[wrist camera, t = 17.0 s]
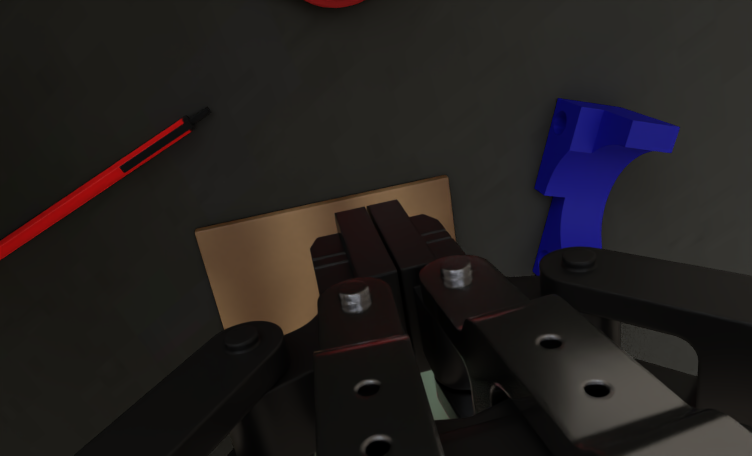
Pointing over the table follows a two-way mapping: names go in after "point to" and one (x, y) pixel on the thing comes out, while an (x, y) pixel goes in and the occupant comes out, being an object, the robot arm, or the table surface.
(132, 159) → the pen
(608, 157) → the blue curved block
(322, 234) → the multicoloured piece
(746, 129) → the table surface
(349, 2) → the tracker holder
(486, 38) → the table surface
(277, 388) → the robot arm
